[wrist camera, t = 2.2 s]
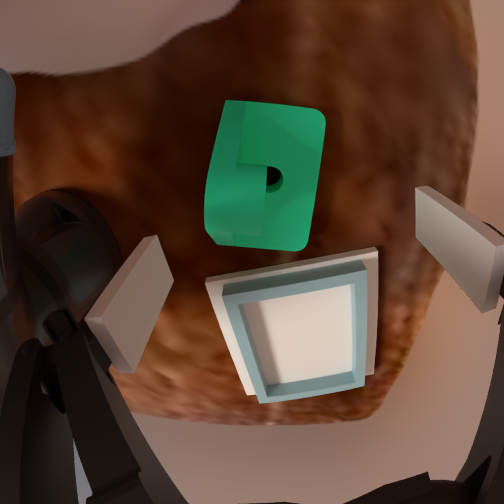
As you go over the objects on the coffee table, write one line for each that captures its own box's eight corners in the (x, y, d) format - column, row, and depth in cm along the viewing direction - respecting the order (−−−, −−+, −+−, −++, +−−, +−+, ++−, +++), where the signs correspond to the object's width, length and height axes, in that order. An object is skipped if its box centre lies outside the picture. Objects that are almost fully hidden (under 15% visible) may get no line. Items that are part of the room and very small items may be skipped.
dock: (247, 389, 39) (246, 407, 36) (206, 277, 31) (201, 294, 28) (371, 368, 37) (377, 384, 34) (374, 246, 29) (384, 261, 26)
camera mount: (302, 239, 29) (320, 306, 20) (220, 232, 29) (202, 297, 19) (320, 110, 23) (358, 115, 14) (229, 100, 23) (209, 97, 14)
